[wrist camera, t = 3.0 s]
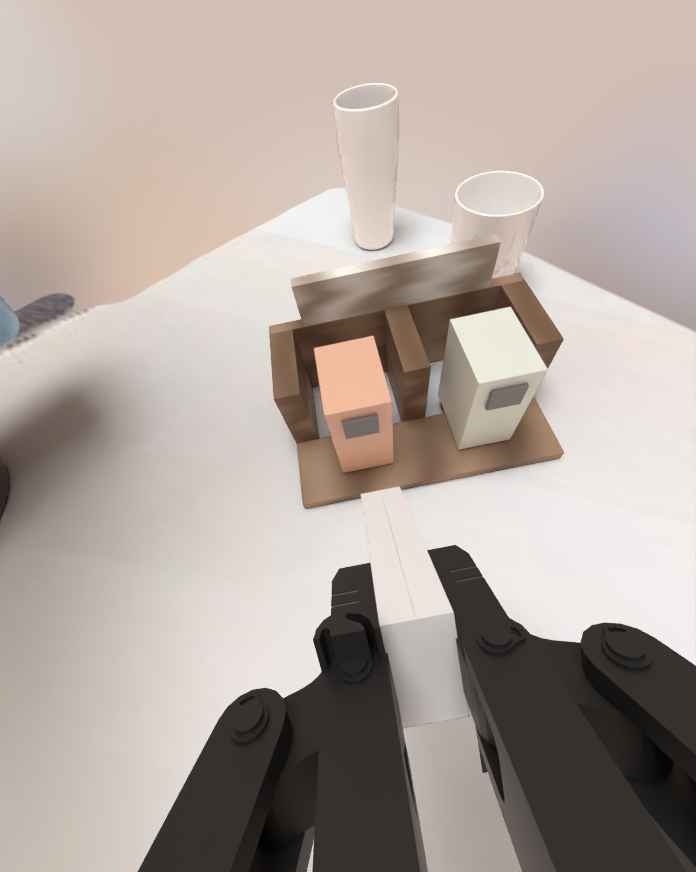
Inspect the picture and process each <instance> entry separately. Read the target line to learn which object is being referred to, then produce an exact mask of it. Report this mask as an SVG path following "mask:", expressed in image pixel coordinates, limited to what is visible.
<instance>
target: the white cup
mask: <svg viewBox="0 0 696 872" xmlns="http://www.w3.org/2000/svg"><path fill="white" fill-rule="evenodd" d="M543 197H544V189H543V187H542V185H541V184H540V183H539V182H538V181H537V180H536V179H534V178H532V177H530V176H528V175H525V174H522V173H518V172H512V171H492V172H485V173H481V174H478V175H475V176H472V177H470V178H468V179H466V180H465V181H463V182H462V183H461V184H460V185H459V186H458V188H457V189H456V192H455V202H454V214H453V226H452V237H451V244H454V243H458V242H463V241H468V240H472V239H477V238H482V237H486V236H491V235H495V234H496V235H497V237H498V238H499V240H500V241H501V244H500V248H499V252H498V256H497V260H496V264H495V268H494V272H493V275H492V279H493V278H498V277H503V276H508V275H512V274H513V273H514V271H515V269H516V268H517V266H518V263H519V260H520V258H521V256H522V253H523V250H524V248H525V245H526V243H527V241H528V238H529V234H530V232H531V229H532V226H533V224H534V221H535V218H536V216H537V213H538V210H539V207H540V205H541V202H542V199H543Z"/></svg>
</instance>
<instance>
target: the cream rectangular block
mask: <svg viewBox="0 0 696 872" xmlns="http://www.w3.org/2000/svg"><path fill="white" fill-rule="evenodd" d="M547 370H548V369H547V367H546V365H545V364H544V362H543V360H542V359H541V357H540V355H539V354H538V352H537V350H536V349H535V347H534V345H533V344H532V342H531V340H530V339H529V337H528V335H527V333H526V332H525V330H524V328H523V327H522V325H521V323H520V322H519V320H518V318H517V317H516V315H515V313H514V312H513V310H512V308H511V307H507V308H502V309H497V310H493V311H488V312H483V313H478V314H474V315H469V316H464V317H459V318H455V319H450V322H449V328H448V335H447V341H446V348H445V354H444V360H443V367H442V373H441V379H440V386H439V392H438V395H439V398H440V401H441V403H442V406H443V409H444V412H445V414H446V417H447V420H448V422H449V425H450V428H451V431H452V433H453V436H454V439H455V442H456V444H457V447H458V450H460V449H465V448H470V447H475V446H480V445H485V444H490V443H495V442H500V441H505V440H510V438H511V436H512V435H513V433H514V431H515V429H516V427H517V425H518V424H519V422H520V420H521V418H522V416H523V414H524V413H525V411H526V409H527V407H528V405H529V403H530V402H531V400H532V398H533V396H534V394H535V392H536V391H537V389H538V387H539V385H540V383H541V381H542V380H543V378H544V376H545V374H546V372H547Z"/></svg>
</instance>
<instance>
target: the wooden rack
mask: <svg viewBox="0 0 696 872" xmlns="http://www.w3.org/2000/svg"><path fill="white" fill-rule="evenodd" d="M500 244H501V241H500V240H499V238H498V237H497V235H496V234H495V235H491V236H486V237H482V238H477V239H472V240H468V241H463V242H458V243H454V244H449V245H445V246H440V247H435V248H431V249H426V250H421V251H417V252H412V253H408V254H403V255H398V256H394V257H389V258H384V259H380V260H375V261H371V262H366V263H361V264H357V265H352V266H347V267H343V268H338V269H334V270H329V271H324V272H320V273H315V274H310V275H306V276H301V277H297V278H292V279H291V286H292V290H293V293H294V296H295V300H296V303H297V306H298V310H299V313H300V316H301V320H296V321H292V322H287V323H282V324H277V325H273V326H269V334H270V349H271V364H272V379H273V394H274V400H275V402H276V404H277V406H278V408H279V410H280V412H281V414H282V416H283V418H284V420H285V422H286V424H287V426H288V428H289V429H290V431H291V433H292V435H293V437H294V439H295V441H296V443H297V451H298V461H299V471H300V481H301V491H302V501H303V506H304V507H305V509H307V508H312V507H317V506H322V505H327V504H332V503H337V502H342V501H347V500H352V499H357V498H361V494H363V493H368V492H373V491H378V490H383V489H388V488H393V487H398V486H400V488H401V490H402V489H407V488H412V487H417V486H422V485H427V484H432V483H437V482H442V481H447V480H452V479H457V478H462V477H467V476H472V475H477V474H482V473H487V472H492V471H497V470H502V469H507V468H512V467H517V466H522V465H527V464H532V463H537V462H542V461H547V460H552V459H557V458H560V457H561V456H562V455H563V454H564V451H563V449H562V448H561V446H560V444H559V442H558V440H557V438H556V436H555V435H554V433H553V431H552V429H551V427H550V425H549V424H548V422H547V420H546V418H545V416H544V414H543V412H542V411H541V409H540V407H539V405H538V403H537V401H536V399H535V398H534V396H533V398H532V400H531V402H530V403H529V405H528V407H527V409H526V411H525V413H524V414H523V416H522V418H521V420H520V422H519V424H518V425H517V427H516V429H515V431H514V433H513V435H512V436H511V438H510V440H505V441H500V442H495V443H490V444H485V445H480V446H475V447H470V448H465V449H460V450H458V447H457V444H456V442H455V439H454V436H453V433H452V431H451V428H450V425H449V422H448V420H447V417H446V414H445V413H444V414H439V415H434V416H429V417H425V411H426V402H427V393H428V384H429V376H430V364H429V363H430V362H435V361H440V360H444V354H445V348H446V341H447V335H448V328H449V322H450V319H455V318H459V317H464V316H469V315H474V314H478V313H483V312H488V311H493V310H497V309H502V308H507V307H511V308H512V310H513V312H514V313H515V315H516V317H517V318H518V320H519V322H520V323H521V325H522V327H523V328H524V330H525V332H526V333H527V335H528V337H529V339H530V340H531V342H532V344H533V345H534V347H535V349H536V350H537V352H538V354H539V355H540V357H541V359H542V360H543V362H544V364H545V365H546V367H547V369H548V367H549V365H550V363H551V362H552V360H553V358H554V356H555V354H556V352H557V351H558V349H559V347H560V345H561V343H562V341H563V337H562V336H561V334H560V332H559V331H558V329H557V328H556V326H555V325H554V323H553V322H552V320H551V319H550V317H549V316H548V314H547V313H546V311H545V310H544V308H543V307H542V305H541V304H540V302H539V301H538V299H537V298H536V296H535V295H534V293H533V292H532V290H531V289H530V287H529V286H528V284H527V283H526V281H525V280H524V278H523V277H522V275H521V274H520V273H517V274H512V275H508V276H503V277H498V278H493V279H492V275H493V272H494V268H495V264H496V260H497V256H498V252H499V248H500ZM369 336H374V340H375V343H376V347H377V350H378V354H379V357H380V361H381V365H382V368H383V372H387V373H388V376H389V380H390V383H391V387H392V390H393V394H394V397H395V401H396V404H397V408H398V411H399V415H400V418H401V422H400V423H395V424H393V456H394V463H390V464H385V465H380V466H375V467H371V468H366V469H361V470H356V471H351V472H346V473H343V471H342V468H341V465H340V462H339V459H338V456H337V453H336V450H335V447H334V444H333V441H332V438H331V437H326V438H321V439H319V434H318V426H317V419H316V412H315V405H314V398H313V390H312V387H315V386H320V385H319V378H318V372H317V365H316V359H315V352H314V348H317V347H322V346H327V345H331V344H336V343H341V342H346V341H350V340H355V339H360V338H365V337H369Z"/></svg>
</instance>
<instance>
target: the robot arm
mask: <svg viewBox="0 0 696 872" xmlns="http://www.w3.org/2000/svg"><path fill="white" fill-rule="evenodd" d="M19 326H20V324H19V320H18V318H17V316H16V314H15V313H14V311H13V310H12V309H11V308H10V306H9V305H8V304H7V303H6V302H5V300H4V299H3V298H2V297H1V296H0V348H2V347H3V346H5V345H6V344H8V343H9V342H11V341H12V340H13V339H14V338H15V337H16V336H17V335H18V332H19ZM8 489H9V477H8V472H7V469H6V467H5V465H4V464H3V462H2V461H1V460H0V515H1V513H2V510H3V508H4V505H5V502H6V499H7V495H8ZM361 500H362V507H363V514H364V521H365V528H366V535H367V542H368V549H369V556H370V563H367V564H361V565H356V566H351V567H346V568H341V569H339V570H338V572H337V574H336V575H335V577H334V579H333V580H332V599H331V606H332V608H331V616H329V617H328V618H326V619H325V620H323V622H322V623H321V624H320V626H319V627H318V628H317V629H316V632H315V635H314V639H313V641H314V645H315V648H316V652H317V656H318V659H319V663H320V667H321V670H322V672H321V674H320V675H319V676H318V677H317V678H316V679H315V680H314V681H313V682H312V683H310V684H309V685H307V686H306V687H304V688H302V689H301V690H299V691H297V692H295V693H293V694H291V695H289V696H287V697H285V698H282V697H281V696H280V695H279V693H278V692H277V691H275V690H271V689H268V688H261V689H255V690H251V691H249V692H247V693H245V694H243V695H241V696H240V697H238V698H237V699H236V700H235V701H234V702H233V703H232V704H230V705H229V706H228V707H227V709H226V710H225V711H224V713H223V714H222V716H221V717H220V719H219V720H218V722H217V724H216V726H215V727H214V729H213V731H212V733H211V735H210V737H209V739H208V741H207V742H206V744H205V746H204V748H203V750H202V752H201V754H200V756H199V758H198V759H197V761H196V763H195V765H194V767H193V769H192V771H191V773H190V774H189V776H188V778H187V780H186V782H185V784H184V786H183V788H182V789H181V791H180V793H179V795H178V797H177V799H176V801H175V803H174V805H173V806H172V808H171V810H170V812H169V814H168V816H167V818H166V820H165V821H164V823H163V825H162V827H161V829H160V831H159V833H158V835H157V836H156V838H155V840H154V842H153V844H152V846H151V848H150V850H149V852H148V853H147V855H146V857H145V859H144V861H143V863H142V865H141V867H140V868H139V870H138V872H307V867H308V863H309V858H310V854H311V849H312V845H313V840H314V854H313V872H428V869H427V864H426V858H425V852H424V846H423V840H422V834H421V828H420V822H419V817H418V811H417V805H416V799H415V793H414V787H413V781H412V775H411V770H410V764H409V758H408V753H407V749H406V744H405V739H404V733H403V728H408V727H413V726H419V725H424V724H430V723H435V722H441V721H446V720H452V719H458V718H463V717H469V716H470V715H469V709H468V705H469V708H470V711H471V714H472V716H473V719H474V722H475V725H476V731H477V738H478V745H479V751H480V758H481V764H482V771H483V773H485V772H488V774H489V776H490V779H491V782H492V785H493V788H494V791H495V794H496V797H497V800H498V802H499V805H500V808H501V811H502V814H503V817H504V820H505V823H506V826H507V828H508V831H509V834H510V837H511V840H512V843H513V846H514V849H515V852H516V854H517V857H518V860H519V863H520V866H521V869H522V872H696V666H695V665H694V664H692V663H691V662H689V661H688V660H686V659H685V658H684V657H682V656H681V655H679V654H678V653H676V652H675V651H673V650H672V649H670V648H669V647H667V646H666V645H664V644H663V643H661V642H660V641H659V640H657V639H656V638H654V637H652V636H650V635H648V634H647V633H645V632H643V631H641V630H639V629H637V628H633V627H630V626H627V625H623V624H617V623H601V624H596V625H592V626H590V627H589V628H588V629H587V630H585V631H584V632H583V635H582V639H581V643H576V642H565V641H554V640H548V639H542V638H539V637H536V636H534V635H531V634H530V633H529V632H528V631H527V630H526V629H525V628H524V627H523V626H522V625H521V624H519V623H517V622H515V621H513V620H512V619H510V618H509V617H508V616H507V614H506V613H505V611H504V609H503V608H502V606H501V605H500V603H499V601H498V600H497V598H496V597H495V595H494V593H493V592H492V590H491V589H490V587H489V585H488V584H487V582H486V581H485V579H484V578H483V577H482V574H481V573H480V571H479V569H478V568H477V567H476V564H475V563H474V561H473V560H472V558H471V556H470V555H469V553H467V552H466V551H464V550H463V549H461V548H459V547H458V546H456V545H453V546H448V547H443V548H437V549H432V550H427V549H426V547H425V544H424V542H423V540H422V537H421V535H420V533H419V530H418V528H417V526H416V523H415V521H414V519H413V516H412V514H411V512H410V509H409V507H408V505H407V502H406V500H405V498H404V495H403V493H402V491H401V488H400V486H398V487H393V488H388V489H383V490H378V491H373V492H368V493H363V494H361Z"/></svg>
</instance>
